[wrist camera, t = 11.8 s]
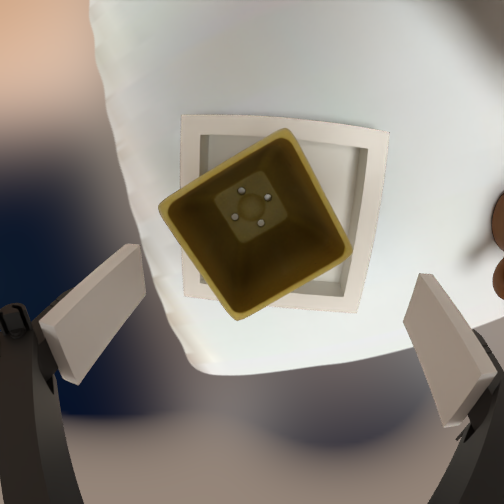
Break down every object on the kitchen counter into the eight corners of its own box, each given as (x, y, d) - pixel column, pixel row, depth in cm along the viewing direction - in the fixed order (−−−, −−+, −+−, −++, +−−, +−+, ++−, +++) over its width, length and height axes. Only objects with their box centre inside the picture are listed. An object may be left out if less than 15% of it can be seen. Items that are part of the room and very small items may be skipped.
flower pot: (178, 189, 25) (153, 206, 16) (268, 135, 24) (288, 124, 15) (232, 272, 27) (235, 324, 19) (317, 222, 27) (356, 254, 18)
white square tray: (194, 116, 24) (181, 114, 21) (376, 131, 23) (389, 132, 20) (194, 278, 31) (183, 296, 28) (350, 294, 29) (356, 313, 26)
